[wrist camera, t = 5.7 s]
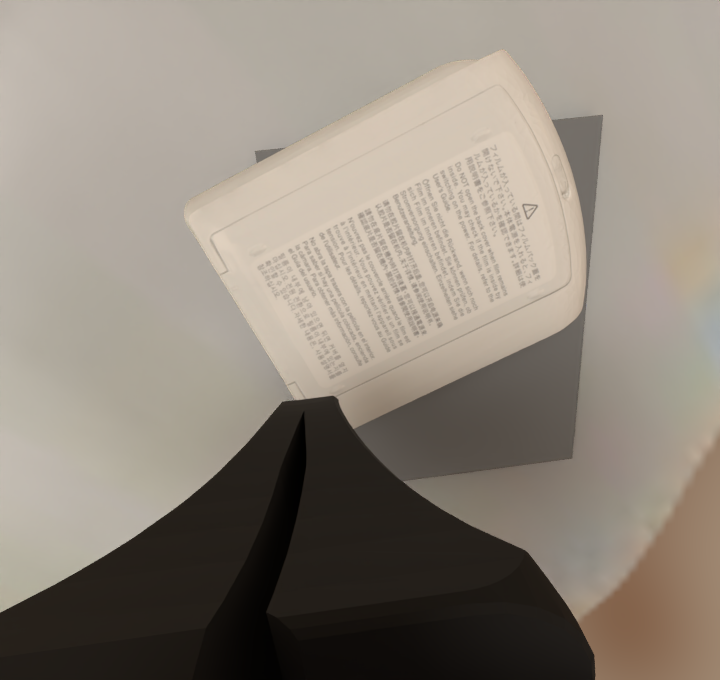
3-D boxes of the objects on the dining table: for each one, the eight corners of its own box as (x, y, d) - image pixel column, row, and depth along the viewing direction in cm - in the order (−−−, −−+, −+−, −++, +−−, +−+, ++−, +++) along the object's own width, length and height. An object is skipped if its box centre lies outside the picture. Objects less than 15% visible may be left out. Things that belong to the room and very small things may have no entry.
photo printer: (325, 408, 20) (571, 287, 19) (325, 463, 16) (638, 314, 15) (199, 202, 17) (491, 41, 16) (159, 207, 13) (549, -11, 12)
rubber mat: (567, 452, 23) (572, 458, 22) (313, 486, 22) (313, 492, 22) (595, 116, 17) (603, 114, 17) (256, 152, 17) (255, 151, 16)
